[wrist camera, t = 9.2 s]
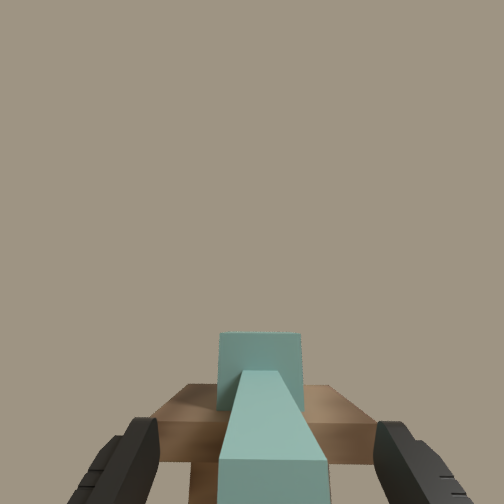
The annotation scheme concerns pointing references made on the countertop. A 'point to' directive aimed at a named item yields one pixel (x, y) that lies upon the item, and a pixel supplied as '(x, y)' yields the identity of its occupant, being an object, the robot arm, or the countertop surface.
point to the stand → (216, 422)
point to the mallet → (266, 423)
